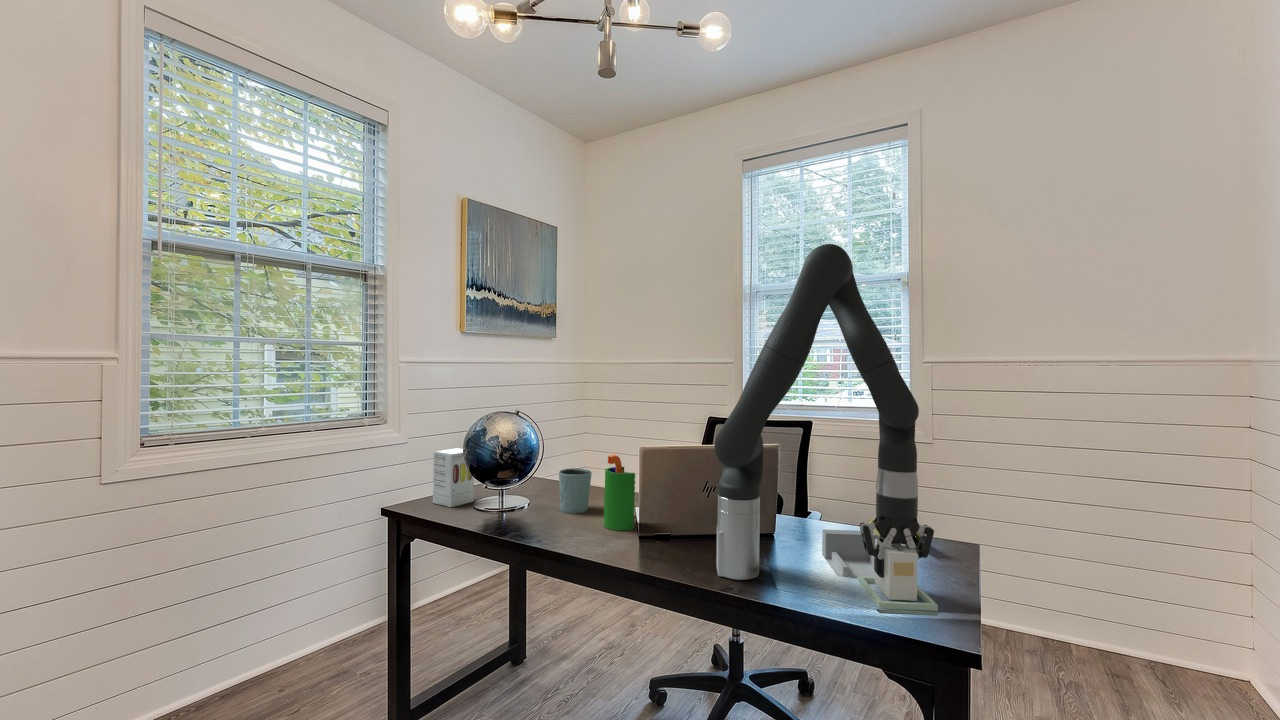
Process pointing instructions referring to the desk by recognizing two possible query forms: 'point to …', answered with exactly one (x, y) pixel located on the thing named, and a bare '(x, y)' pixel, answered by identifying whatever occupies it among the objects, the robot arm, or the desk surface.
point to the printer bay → (851, 567)
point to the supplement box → (451, 479)
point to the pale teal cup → (574, 490)
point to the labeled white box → (899, 573)
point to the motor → (619, 497)
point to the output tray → (927, 605)
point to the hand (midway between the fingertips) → (895, 576)
